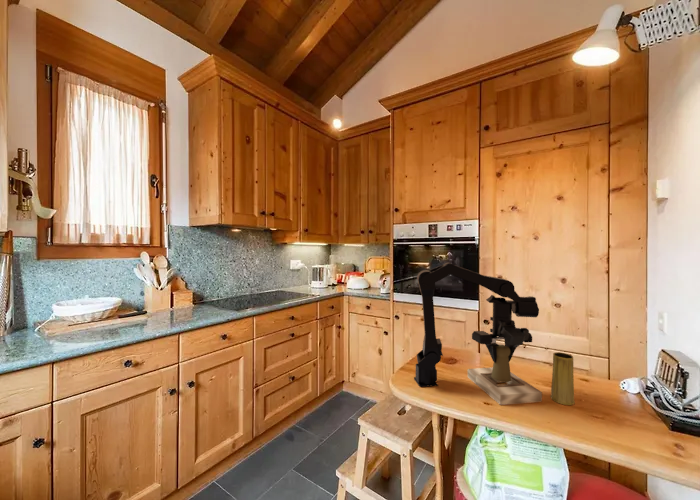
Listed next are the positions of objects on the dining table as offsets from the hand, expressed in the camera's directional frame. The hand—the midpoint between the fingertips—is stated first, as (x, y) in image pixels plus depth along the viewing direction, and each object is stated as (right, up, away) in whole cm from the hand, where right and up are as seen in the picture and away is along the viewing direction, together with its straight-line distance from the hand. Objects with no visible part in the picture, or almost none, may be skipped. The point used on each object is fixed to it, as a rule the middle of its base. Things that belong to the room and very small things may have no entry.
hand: (501, 361), depth 100 cm
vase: (+15, -10, -8) cm, 20 cm away
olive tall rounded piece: (0, -6, 0) cm, 6 cm away
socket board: (0, -9, 0) cm, 9 cm away
